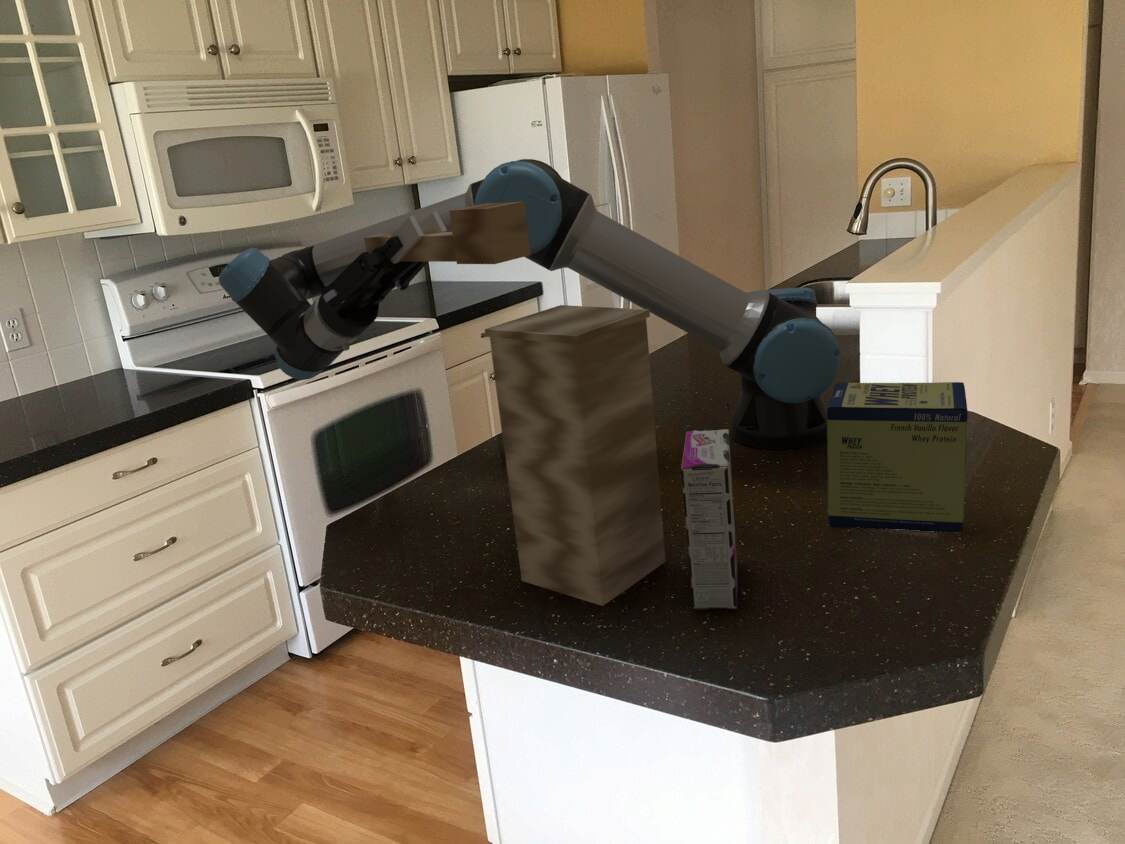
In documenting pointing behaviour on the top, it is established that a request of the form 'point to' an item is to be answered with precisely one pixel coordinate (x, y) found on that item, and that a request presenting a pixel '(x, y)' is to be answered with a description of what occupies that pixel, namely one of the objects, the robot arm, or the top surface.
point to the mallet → (472, 236)
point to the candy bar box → (710, 519)
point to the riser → (580, 448)
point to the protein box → (897, 455)
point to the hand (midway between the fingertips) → (428, 223)
